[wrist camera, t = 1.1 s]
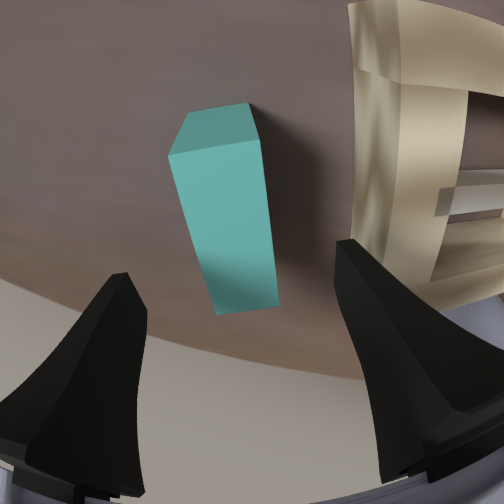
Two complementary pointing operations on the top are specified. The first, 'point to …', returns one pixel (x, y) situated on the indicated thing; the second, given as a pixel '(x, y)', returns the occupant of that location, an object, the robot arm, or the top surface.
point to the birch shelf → (425, 148)
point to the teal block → (227, 206)
